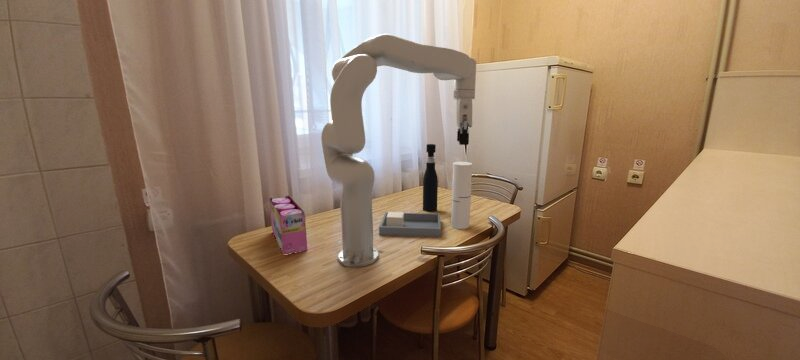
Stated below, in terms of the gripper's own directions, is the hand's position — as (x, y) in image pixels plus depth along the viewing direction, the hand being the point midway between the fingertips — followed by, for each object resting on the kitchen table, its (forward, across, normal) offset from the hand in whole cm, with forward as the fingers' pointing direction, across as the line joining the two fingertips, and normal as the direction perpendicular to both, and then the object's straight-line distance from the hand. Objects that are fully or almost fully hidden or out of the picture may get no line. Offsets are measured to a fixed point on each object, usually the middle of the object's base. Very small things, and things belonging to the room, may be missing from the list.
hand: (462, 142), depth 119 cm
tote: (+32, -6, +19) cm, 38 cm away
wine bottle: (+33, +16, +12) cm, 38 cm away
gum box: (+32, -20, +61) cm, 72 cm away
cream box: (+32, -6, +25) cm, 41 cm away
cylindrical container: (+33, 0, 0) cm, 33 cm away
